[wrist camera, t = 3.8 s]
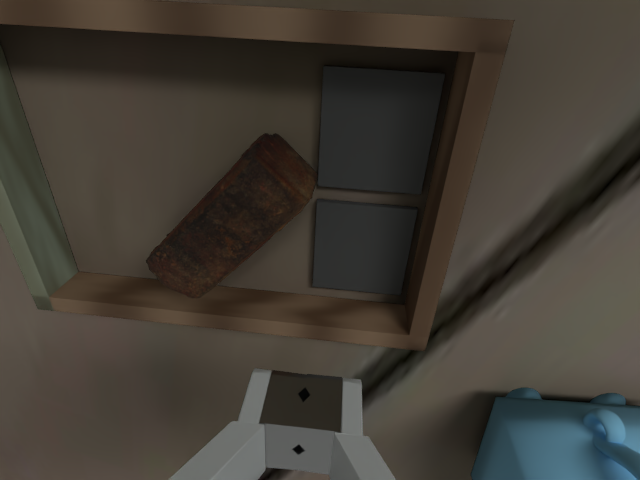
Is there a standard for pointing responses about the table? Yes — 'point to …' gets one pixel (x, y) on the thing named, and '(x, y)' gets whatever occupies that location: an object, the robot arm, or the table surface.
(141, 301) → the box
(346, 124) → the trap pits
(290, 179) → the brick
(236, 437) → the robot arm
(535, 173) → the table surface
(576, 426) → the teapot
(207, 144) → the table surface
